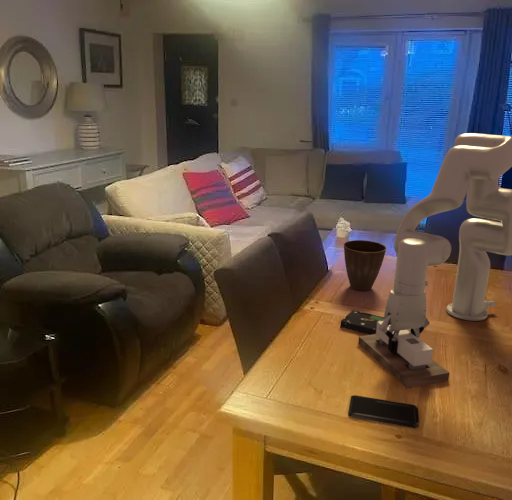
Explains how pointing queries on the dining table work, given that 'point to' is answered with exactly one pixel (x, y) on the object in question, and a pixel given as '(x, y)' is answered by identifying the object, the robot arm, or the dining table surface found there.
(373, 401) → the phone
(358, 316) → the disk drive
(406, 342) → the power strip
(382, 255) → the plant pot
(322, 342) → the dining table surface
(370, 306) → the dining table surface
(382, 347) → the slot board
